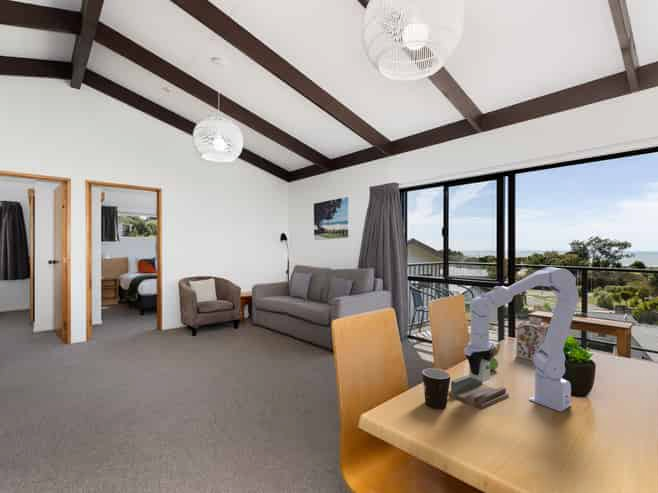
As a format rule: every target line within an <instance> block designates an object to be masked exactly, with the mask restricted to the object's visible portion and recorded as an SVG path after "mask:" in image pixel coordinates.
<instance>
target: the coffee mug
mask: <svg viewBox="0 0 658 493" xmlns="http://www.w3.org/2000/svg"><path fill="white" fill-rule="evenodd" d="M421 372H422V383H423V392H424V402H425V405H426V407H428V408H430V409H433V410H444V409H446V408H447V405H448V404H447V403H448V398H449V397H448V396H449V391H450V385H451V383H450V382H451V376H452V375H451V373H450V372H448V371H446V370H444V369H440V368H430V367H429V368H425V369H423V370H422V371H421Z"/></svg>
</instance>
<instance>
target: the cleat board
mask: <svg viewBox="0 0 658 493" xmlns="http://www.w3.org/2000/svg"><path fill="white" fill-rule="evenodd" d="M450 382H451V383H450V388H451V389H450V390H449V391H448V396H451V397H453V398H455V399H458V400H460V401H462V402H464V403H467V404H469V405H471V406H473V407H476V408H478V409H480V410H482V409H486V408H487V407H489V406H491V405H494V404H496V403H498V402H500V401H503V400H505V399H507V398H509V396H510V395H509V394H510V393H507V388H506V387H503V386H500V387H497V388H495V387H492V386H489V385H486V384H484V382H482V381H479V380H477V379H474V378H471V377H469V374H468V375H465V376H462V377H460V378H459V377H458V378H456V379H453V380H450Z"/></svg>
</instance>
